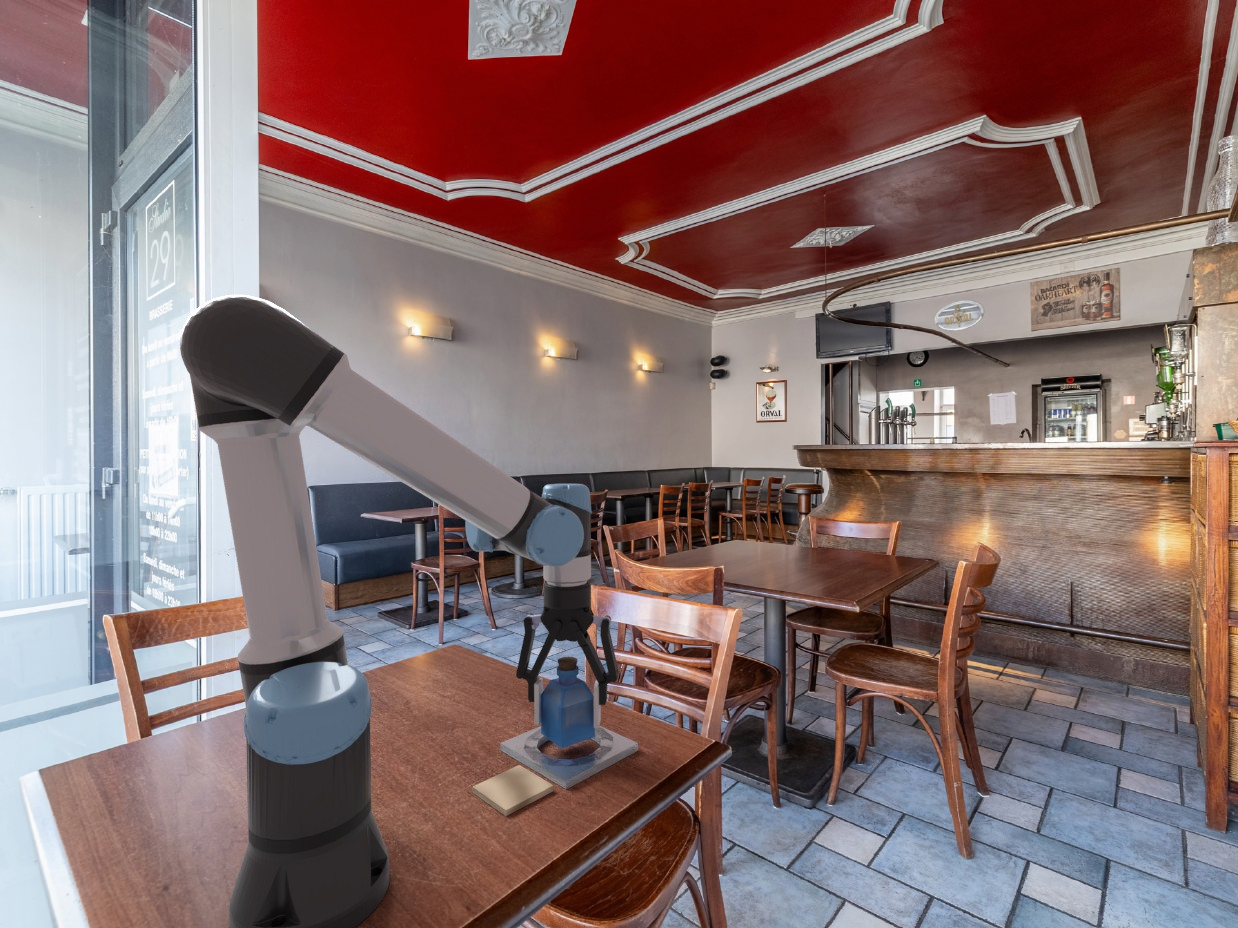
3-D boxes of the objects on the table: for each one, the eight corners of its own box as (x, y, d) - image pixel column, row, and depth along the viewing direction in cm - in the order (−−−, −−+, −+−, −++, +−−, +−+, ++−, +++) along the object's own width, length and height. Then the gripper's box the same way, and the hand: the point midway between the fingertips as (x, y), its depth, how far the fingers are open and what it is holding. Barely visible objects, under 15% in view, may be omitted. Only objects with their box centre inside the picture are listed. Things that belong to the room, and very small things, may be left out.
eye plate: (566, 789, 84) (566, 780, 84) (500, 750, 95) (500, 742, 95) (638, 750, 94) (638, 742, 94) (571, 719, 105) (571, 712, 105)
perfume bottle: (573, 722, 99) (573, 650, 99) (594, 736, 94) (594, 661, 94) (541, 733, 95) (540, 658, 95) (561, 748, 90) (560, 669, 90)
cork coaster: (505, 816, 77) (505, 810, 77) (472, 792, 83) (472, 786, 83) (553, 790, 83) (553, 785, 83) (519, 769, 89) (519, 764, 89)
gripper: (636, 577, 97) (637, 715, 97) (508, 575, 99) (508, 709, 99) (633, 587, 89) (633, 736, 90) (493, 584, 91) (494, 730, 92)
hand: (567, 722), depth 94 cm, fingers closed on perfume bottle, 9 cm apart
